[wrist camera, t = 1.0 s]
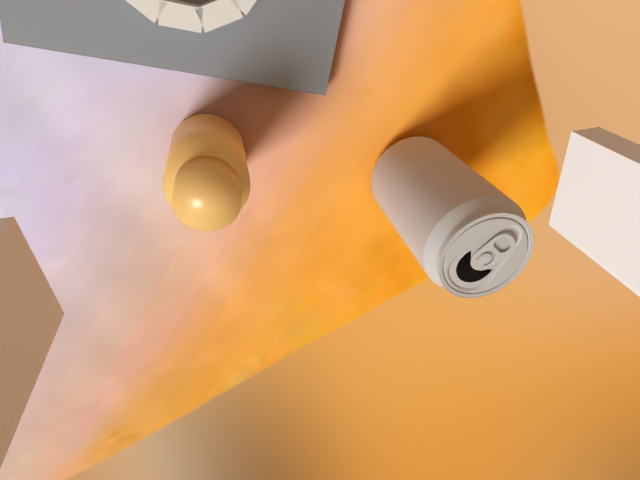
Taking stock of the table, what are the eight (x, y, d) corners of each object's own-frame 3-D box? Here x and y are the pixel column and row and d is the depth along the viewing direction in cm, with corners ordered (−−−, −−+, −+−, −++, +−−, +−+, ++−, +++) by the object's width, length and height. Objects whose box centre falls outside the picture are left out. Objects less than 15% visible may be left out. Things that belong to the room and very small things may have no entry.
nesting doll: (169, 177, 31) (158, 237, 24) (172, 108, 28) (160, 153, 22) (239, 184, 32) (247, 243, 25) (247, 119, 30) (258, 164, 23)
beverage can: (351, 179, 34) (409, 272, 24) (412, 114, 32) (502, 184, 22) (403, 223, 37) (475, 320, 27) (462, 165, 35) (561, 247, 25)
